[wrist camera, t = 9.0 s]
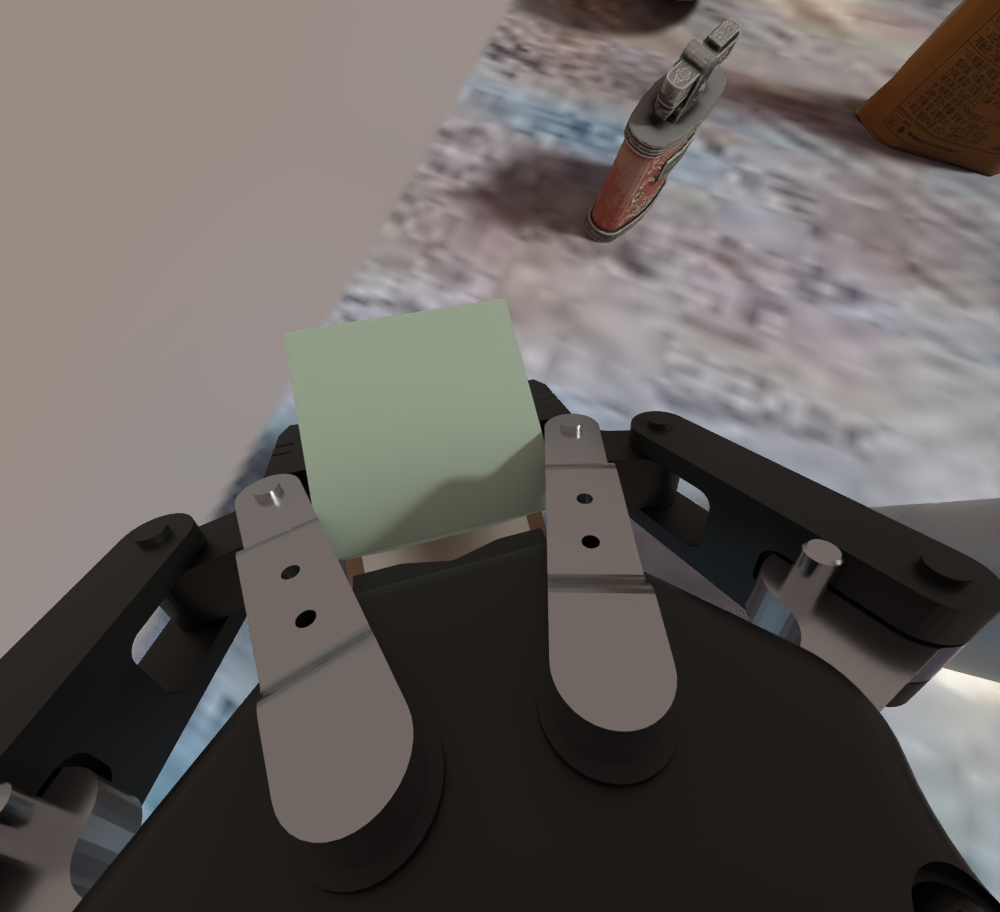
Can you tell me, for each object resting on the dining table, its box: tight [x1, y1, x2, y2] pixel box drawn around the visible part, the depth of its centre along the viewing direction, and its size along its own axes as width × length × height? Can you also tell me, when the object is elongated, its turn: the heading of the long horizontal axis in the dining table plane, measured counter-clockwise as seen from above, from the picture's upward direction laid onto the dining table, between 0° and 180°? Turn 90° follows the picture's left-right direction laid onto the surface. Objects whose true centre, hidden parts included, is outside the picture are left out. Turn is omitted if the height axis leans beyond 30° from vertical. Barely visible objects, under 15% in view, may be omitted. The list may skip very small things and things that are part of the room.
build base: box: [344, 511, 547, 589], centre depth 22 cm, size 11×11×4 cm
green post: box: [283, 299, 546, 561], centre depth 14 cm, size 5×5×10 cm
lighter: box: [585, 18, 741, 243], centre depth 25 cm, size 8×3×10 cm, turn 139°
